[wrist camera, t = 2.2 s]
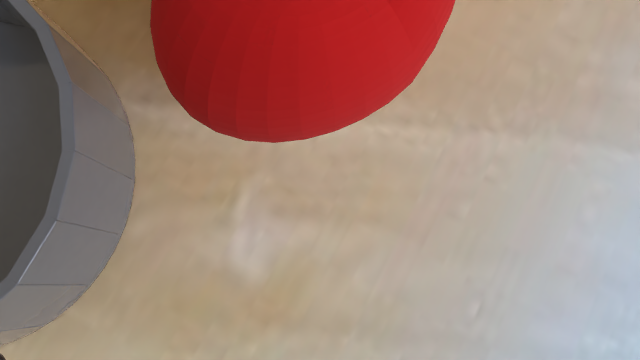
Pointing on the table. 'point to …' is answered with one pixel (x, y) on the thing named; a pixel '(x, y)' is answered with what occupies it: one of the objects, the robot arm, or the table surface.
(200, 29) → the light bulb
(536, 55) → the table surface
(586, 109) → the table surface
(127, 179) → the measuring cup
